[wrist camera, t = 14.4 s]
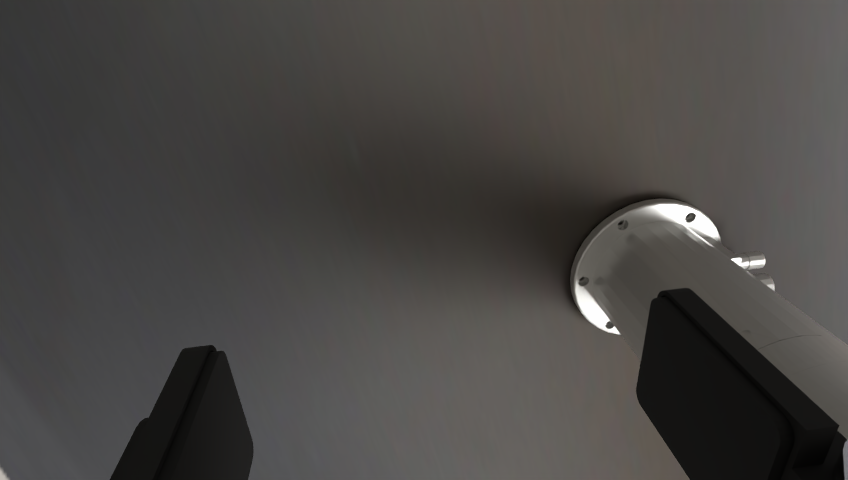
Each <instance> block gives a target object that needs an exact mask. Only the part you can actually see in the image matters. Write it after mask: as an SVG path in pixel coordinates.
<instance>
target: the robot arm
mask: <svg viewBox="0 0 848 480" xmlns="http://www.w3.org/2000/svg"><path fill="white" fill-rule="evenodd" d="M764 265H765V257H764V255H763V254H762V253H761V252H759V251H754V252H745V253H741V254H734V253H733V252H732V251H730V250H729V249H727V248H726V247H725V246H723V245H722V244H721V238H720V235H719V233H718V230H717V228H716V226H715V225H714V224H713V222H712V221H711V220H710V218H709V217H708V216H706V215H705V214H704V213H702V212H701V211H700V210H698V209H697V208H695V207H693V206H691V205H690V204H688V203H685V202H682V201H678V200H675V199H662V198H660V199H651V200H645V201H641V202H638V203H634V204H631V205H629V206H627V207H624V208H622V209H620V210H618V211H616V212H615V213H613V214H612V215H610V216H609V217H607V218H606V219H604V220H603V221H602V222H601V223H600V224H599V225H598V226H597V227H596V228H594V229H593V230H592V232H591V233H590V234H589V235H588V237H587V238H586V239H585V240H584V242H583V243H582V245H581V247H580V248H579V250H578V252H577V254H576V256H575V259H574V262H573V265H572V269H571V276H570V286H571V293H572V296H573V299H574V302H575V304H576V305H577V307H578V309H579V310H580V312H581V313H582V314H583V316H584V317H585V318H586V319H587V320H588V321H589V322H590V323H591V324H593V325H594V326H595V327H597V328H599V329H601V330H603V331H606V332H609V333H614V334H618V335H621V336H622V337H623V338H624V340H625V341H626V342H627V344H628V345H629V346H630V348H631V349H632V350H633V352H634V353H635V354H636V356H637V357H638V358H639V360H640V361H641V364H640V370H639V376H638V382H637V388H636V392H637V398H638V401H639V403H640V405H641V407H642V408H643V410H644V411H645V413H646V414H647V416H648V417H649V419H650V420H651V422H652V423H653V425H654V426H655V428H656V429H657V431H658V432H659V434H660V435H661V437H662V438H663V440H664V441H665V443H666V444H667V446H668V447H669V449H670V450H671V452H672V453H673V455H674V456H675V458H676V459H677V461H678V462H679V464H680V465H681V467H682V468H683V470H684V471H685V473H686V474H687V476H688V477H689V479H690V480H848V345H847V344H845V343H844V342H843V341H841V340H840V339H839V338H837V337H836V336H834V335H833V334H832V333H830V332H829V331H828V330H826V329H825V328H824V327H822V326H821V325H820V324H818V323H817V322H816V321H814V320H813V319H811V318H810V317H809V316H807V315H806V314H805V313H803V312H802V311H801V310H799V309H798V308H797V307H795V306H794V305H793V304H791V303H790V302H788V301H787V300H786V299H784V298H783V297H782V296H780V295H779V294H778V293H776V292H775V291H774V282H773V280H772V278H771V277H770V276H769V275H768V274H766V273H760V274H751V273H749V272H748V271H746V270H749V269H758V268H762V267H764ZM252 459H253V441H252V438H251V434H250V431H249V428H248V425H247V421H246V418H245V415H244V412H243V409H242V405H241V402H240V399H239V396H238V392H237V389H236V386H235V383H234V379H233V376H232V373H231V370H230V367H229V363H228V360H227V357H226V354H225V353H224V351H217V350H216V348H215V347H214V346H212V345H208V346H200V347H192V348H185V349H183V350H182V351H181V353H180V355H179V357H178V359H177V361H176V363H175V365H174V367H173V369H172V371H171V373H170V375H169V377H168V379H167V381H166V384H165V386H164V388H163V390H162V392H161V394H160V396H159V398H158V400H157V402H156V404H155V406H154V408H153V410H152V412H151V414H150V416H149V418H145V419H143V420H142V421H141V422H140V423H139V424H138V426H137V427H136V429H135V431H134V433H133V435H132V437H131V439H130V441H129V443H128V445H127V447H126V449H125V451H124V453H123V455H122V457H121V459H120V461H119V463H118V465H117V467H116V469H115V471H114V472H113V474H112V476H111V478H110V480H248V477H249V473H250V468H251V464H252Z"/></svg>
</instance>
